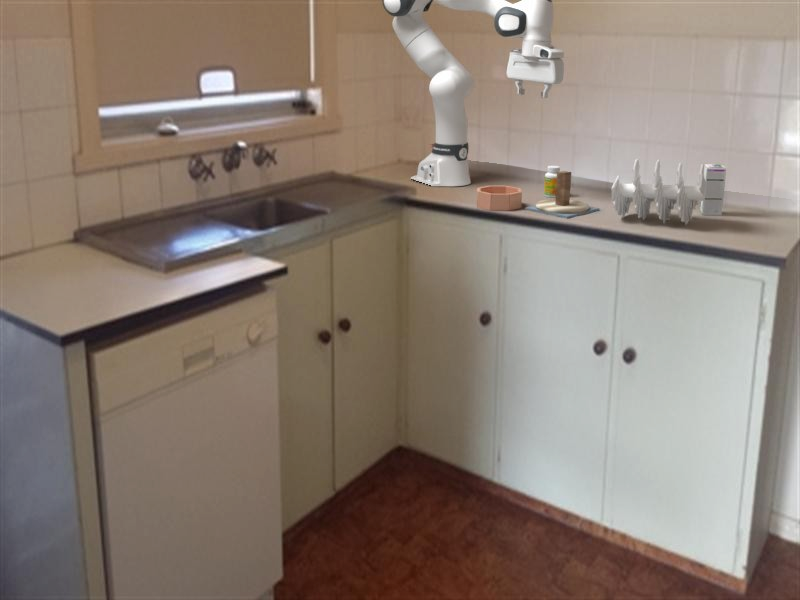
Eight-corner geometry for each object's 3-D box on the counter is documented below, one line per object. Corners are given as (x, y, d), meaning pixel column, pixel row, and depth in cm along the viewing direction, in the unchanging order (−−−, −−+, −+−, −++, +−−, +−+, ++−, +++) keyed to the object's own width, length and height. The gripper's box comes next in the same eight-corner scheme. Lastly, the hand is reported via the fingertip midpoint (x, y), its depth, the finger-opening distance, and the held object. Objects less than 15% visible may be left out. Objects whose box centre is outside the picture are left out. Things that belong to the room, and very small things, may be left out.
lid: (524, 207, 266) (526, 171, 263) (557, 200, 276) (560, 165, 273) (566, 216, 255) (569, 178, 251) (599, 208, 265) (602, 172, 261)
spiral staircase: (617, 226, 262) (704, 231, 251) (605, 212, 246) (697, 216, 235) (624, 168, 264) (711, 170, 253) (613, 150, 248) (704, 151, 237)
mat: (525, 209, 266) (525, 207, 266) (557, 202, 276) (557, 200, 276) (567, 218, 255) (567, 216, 255) (599, 210, 265) (599, 208, 265)
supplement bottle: (541, 196, 284) (543, 167, 281) (546, 193, 288) (548, 164, 285) (557, 198, 282) (559, 168, 278) (562, 195, 286) (564, 166, 283)
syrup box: (722, 216, 257) (727, 167, 253) (701, 215, 259) (706, 166, 254) (719, 211, 263) (724, 164, 258) (698, 211, 264) (704, 163, 259)
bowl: (467, 205, 272) (468, 189, 270) (496, 199, 280) (497, 183, 279) (500, 212, 262) (501, 196, 260) (529, 206, 271) (530, 190, 269)
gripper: (504, 48, 273) (500, 93, 278) (555, 53, 259) (551, 100, 264) (517, 48, 277) (513, 92, 282) (568, 52, 263) (564, 99, 268)
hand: (532, 96), depth 273 cm, fingers open, 8 cm apart
